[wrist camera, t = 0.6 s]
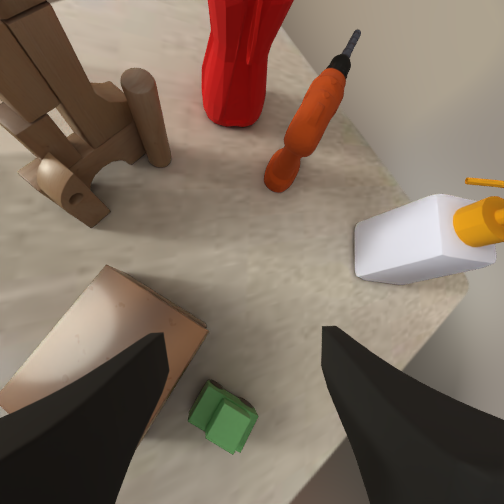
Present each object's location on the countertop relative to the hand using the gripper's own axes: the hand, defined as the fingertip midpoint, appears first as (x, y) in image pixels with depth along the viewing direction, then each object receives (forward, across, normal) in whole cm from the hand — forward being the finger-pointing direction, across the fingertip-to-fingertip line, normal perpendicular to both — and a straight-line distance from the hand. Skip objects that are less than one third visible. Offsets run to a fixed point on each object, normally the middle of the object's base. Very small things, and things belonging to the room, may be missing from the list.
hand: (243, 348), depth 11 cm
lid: (+10, +14, +8) cm, 19 cm away
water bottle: (+35, +2, -20) cm, 40 cm away
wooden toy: (+25, +18, -10) cm, 33 cm away
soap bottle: (+28, -18, +4) cm, 34 cm away
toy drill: (+34, -7, -13) cm, 37 cm away
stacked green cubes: (+15, +4, +19) cm, 24 cm away
